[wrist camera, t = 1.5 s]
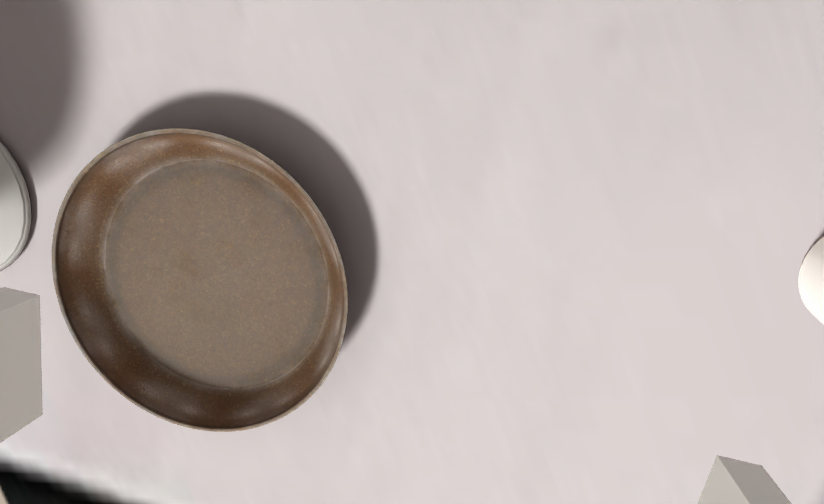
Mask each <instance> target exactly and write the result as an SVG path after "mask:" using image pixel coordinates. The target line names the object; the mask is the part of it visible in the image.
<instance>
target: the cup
mask: <svg viewBox="0 0 824 504" xmlns="http://www.w3.org/2000/svg"><path fill="white" fill-rule="evenodd" d="M798 286H799V292H800V296H801V298H802V301H803V303H804V304H805V306H806V307H807V309H808V310H809V311H810V312H811V313H812V314H813V315H814V316H815V317H816V318H817V319H818V320H819V321H820V322H821V323H822V324H823V325H824V236H823V237H822V238H821V239H820V240H819V241H818V242H817V243H816V244H815V245H814V246H813V247H812V248H811V249H810V251H809V252H808V253H807V255H806V257H805V258H804V261H803V263H802V265H801V268H800V272H799V278H798Z"/></svg>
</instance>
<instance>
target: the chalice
mask: <svg viewBox="0 0 824 504" xmlns="http://www.w3.org/2000/svg"><path fill="white" fill-rule="evenodd" d="M30 226H31V203H30V199H29V194H28V190H27V186H26V183H25V180H24V178H23V176H22V174H21V171H20V169H19V167H18V165H17V163H16V162H15V160H14V159H13V157H12V156H11V154H10V153H9V151H8V150H7V148H6V147H5V146H4V145H3V144H2V143H1V142H0V271H2V270H3V269H5V268H7V267H8V266H10V265H11V264H12V263H13V262H14V261H15V260H16V259H17V258H18V256H19V255H20V254H21V253H22V251H23V249H24V246H25V244H26V242H27V240H28V237H29V231H30Z"/></svg>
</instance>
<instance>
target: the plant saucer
mask: <svg viewBox="0 0 824 504" xmlns="http://www.w3.org/2000/svg"><path fill="white" fill-rule="evenodd" d="M52 271H53V280H54V286H55V290H56V294H57V298H58V302H59V305H60V309H61V312H62V315H63V317H64V320H65V322H66V324H67V326H68V328H69V331H70V333H71V335H72V336H73V338H74V340H75V342H76V343H77V345H78V347H79V348H80V350H81V351H82V353H83V355H84V356H85V357H86V358H87V360H88V362H89V363H90V364H91V365H92V366H93V367H94V368H95V370H96V371H97V372H98V373H99V374H100V375H101V376H102V377H103V379H104V380H105V381H106V382H107V383H108V384H110V385H111V386H112V387H113V388H114V389H115V390H117V391H118V392H119V393H120V394H121V395H123V396H124V397H125V398H127V399H128V400H129V401H131V402H132V403H134V404H135V405H137V406H138V407H140V408H141V409H143V410H145V411H147V412H149V413H151V414H153V415H155V416H157V417H159V418H162V419H164V420H167V421H169V422H171V423H174V424H178V425H181V426H184V427H188V428H192V429H198V430H205V431H220V432H230V431H241V430H247V429H252V428H256V427H259V426H263V425H266V424H269V423H271V422H274V421H276V420H278V419H280V418H282V417H284V416H286V415H288V414H289V413H291V412H292V411H294V410H296V409H297V408H298V407H299V406H301V405H302V404H303V403H304V402H306V401H307V400H308V399H309V398H310V397H311V396H312V395H313V394H314V393H315V392H316V391H317V389H318V388H319V387H320V386H321V385H322V383H323V382H324V380H325V379H326V378H327V376H328V374H329V372H330V371H331V369H332V367H333V365H334V363H335V361H336V359H337V356H338V354H339V351H340V348H341V346H342V342H343V338H344V334H345V329H346V323H347V314H348V291H347V282H346V276H345V270H344V266H343V262H342V258H341V255H340V252H339V249H338V246H337V244H336V241H335V238H334V236H333V234H332V232H331V230H330V228H329V226H328V224H327V222H326V220H325V219H324V217H323V215H322V214H321V212H320V210H319V209H318V207H317V206H316V205H315V203H314V202H313V200H312V199H311V198H310V196H309V195H308V194H307V192H306V191H305V190H304V189H303V188H302V187H301V186H300V185H299V183H298V182H297V181H296V180H295V179H294V178H293V177H292V176H291V175H290V174H289V173H287V172H286V171H285V170H284V169H283V168H282V167H280V166H279V165H278V164H276V163H275V162H274V161H273V160H271V159H270V158H268V157H267V156H265V155H264V154H262V153H260V152H259V151H257V150H255V149H253V148H252V147H250V146H248V145H246V144H244V143H242V142H239V141H237V140H235V139H232V138H229V137H226V136H223V135H220V134H216V133H212V132H208V131H203V130H196V129H185V128H167V129H159V130H152V131H147V132H143V133H139V134H136V135H133V136H131V137H128V138H125V139H123V140H121V141H119V142H118V143H116V144H114V145H112V146H110V147H108V148H107V149H105V150H104V151H103V152H101V153H100V154H99V155H97V156H96V157H95V158H94V159H93V160H92V161H91V162H90V163H89V164H88V165H87V166H86V167H85V168H84V169H83V170H82V171H81V172H80V173H79V175H78V176H77V177H76V179H75V180H74V182H73V183H72V185H71V187H70V188H69V190H68V192H67V194H66V196H65V198H64V200H63V202H62V205H61V207H60V209H59V213H58V216H57V220H56V223H55V228H54V234H53V243H52Z"/></svg>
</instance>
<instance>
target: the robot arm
mask: <svg viewBox="0 0 824 504" xmlns="http://www.w3.org/2000/svg"><path fill="white" fill-rule="evenodd" d="M41 415H42V373H41V331H40V295H36V294H32V293H27V292H23V291H19V290H15V289H10V288H6V287H4V288H1V289H0V443H1V442H2V441H4V440H5V439H7V438H8V437H10V436H11V435H13V434H14V433H16V432H17V431H19V430H20V429H22V428H23V427H25V426H26V425H28V424H29V423H30V422H32V421H33V420H35V419H36V418H38V417H39V416H41ZM698 504H791V502H790V501H789V500H788V499H787V497H786V496H785V495H784V493H783V492H782V491H781V490H780V488H779V487H778V486H777V484H776V483H775V482H774V481H773V479H772V478H771V477H770V475H769V474H768V473H767V472H766V470H765V469H764V468H763V467H762V466H761V465H756V464H752V463H748V462H744V461H739V460H735V459H731V458H727V457H722V456H718V455H717V457H716V459H715V462H714V464H713V467H712V469H711V472H710V474H709V476H708V479H707V481H706V484H705V486H704V489H703V491H702V494H701V496H700V499H699V501H698Z"/></svg>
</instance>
